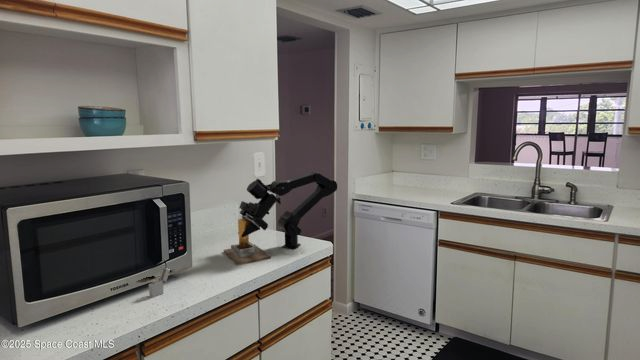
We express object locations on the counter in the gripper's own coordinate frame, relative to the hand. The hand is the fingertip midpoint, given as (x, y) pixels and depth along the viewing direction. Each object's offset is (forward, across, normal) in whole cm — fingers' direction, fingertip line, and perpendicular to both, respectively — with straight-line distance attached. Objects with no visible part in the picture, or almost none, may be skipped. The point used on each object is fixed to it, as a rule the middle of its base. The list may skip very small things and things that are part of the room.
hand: (240, 235), depth 165 cm
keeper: (+5, 0, +7) cm, 9 cm away
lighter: (+31, +20, -18) cm, 41 cm away
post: (+4, 0, +6) cm, 7 cm away
